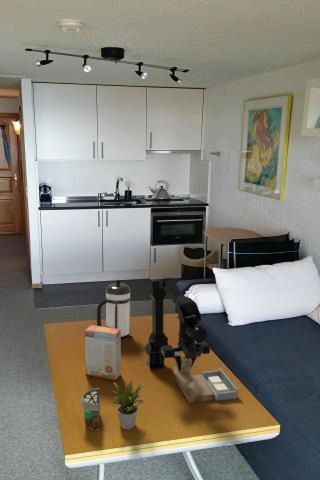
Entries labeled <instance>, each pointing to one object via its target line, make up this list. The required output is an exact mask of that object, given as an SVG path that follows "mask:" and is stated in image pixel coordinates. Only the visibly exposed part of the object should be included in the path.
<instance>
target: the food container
mask: <svg viewBox="0 0 320 480" xmlns="http://www.w3.org/2000/svg"><path fill="white" fill-rule="evenodd" d="M100 394H101V389H100V387H95V388H90V389H89V390H87V391H85V392H84V394H83V395H82V398H81V403H80V404H81V405H82V407H83V415H84V425H85V424H86V425H87V426H88V427H90V428H89V429H91V428H93V429H92V430H95V429H99V428H100V417H99V416H101V408H100V407H101V404H100V403H101V395H100ZM86 425H85V426H86ZM87 426H86V427H87ZM88 427H87V428H88Z"/></svg>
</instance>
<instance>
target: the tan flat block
mask: <svg viewBox="0 0 320 480" xmlns="http://www.w3.org/2000/svg"><path fill="white" fill-rule="evenodd" d="M191 377H192V378H193V379H194V381H195V382H194V388H187V389H184V388H183V386H182V385H181V383H180V382H179V380H178V379H177V378H176V383H177V385H178V387H179V388H180V390H181V392H182V393H183V395H184V397H185V398H186V400H187V402H188V403H189V404H193V403H200V402H201V403H202V402H208V401H209V402H210V401H215V400H214V394H213V392H212V391H211V389H210V388H209V387H208V385H207V384H206V382H205V381H204V380H203V378H202V377H201V375H200V374H193V375H191Z"/></svg>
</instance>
